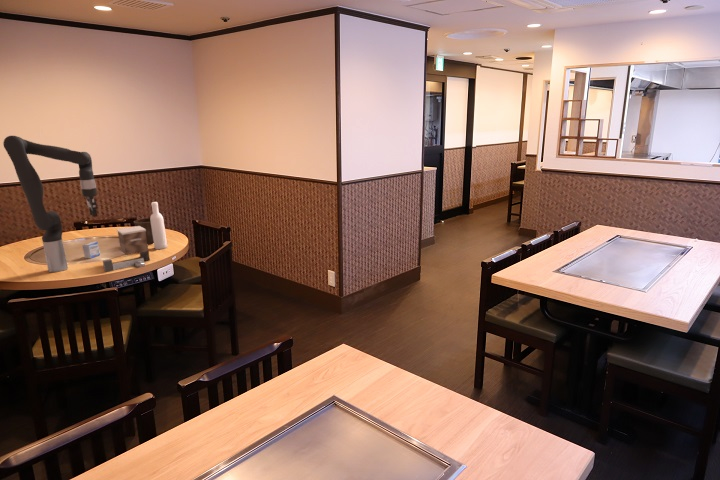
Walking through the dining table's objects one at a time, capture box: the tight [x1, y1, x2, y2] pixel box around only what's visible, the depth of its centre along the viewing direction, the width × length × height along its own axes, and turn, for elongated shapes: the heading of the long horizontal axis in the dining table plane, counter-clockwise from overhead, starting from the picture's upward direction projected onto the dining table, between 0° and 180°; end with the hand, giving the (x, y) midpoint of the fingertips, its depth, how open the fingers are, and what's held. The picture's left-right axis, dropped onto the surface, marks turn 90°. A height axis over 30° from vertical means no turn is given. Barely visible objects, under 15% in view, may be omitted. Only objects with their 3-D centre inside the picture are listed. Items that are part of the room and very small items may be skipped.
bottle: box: [149, 201, 168, 250], centre depth 301 cm, size 8×8×30 cm
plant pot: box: [133, 217, 154, 245], centre depth 316 cm, size 15×15×16 cm
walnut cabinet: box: [116, 225, 151, 262], centre depth 275 cm, size 13×14×19 cm
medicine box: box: [82, 241, 101, 259], centre depth 289 cm, size 8×4×9 cm, turn 168°
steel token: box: [134, 261, 146, 268], centre depth 267 cm, size 5×5×2 cm
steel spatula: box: [102, 257, 145, 273], centre depth 264 cm, size 20×3×6 cm, turn 129°
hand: (93, 215), depth 270 cm, fingers open, 8 cm apart
